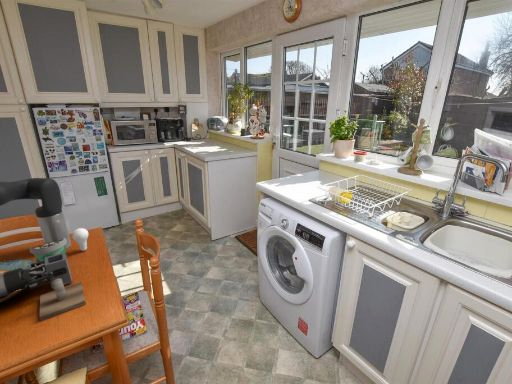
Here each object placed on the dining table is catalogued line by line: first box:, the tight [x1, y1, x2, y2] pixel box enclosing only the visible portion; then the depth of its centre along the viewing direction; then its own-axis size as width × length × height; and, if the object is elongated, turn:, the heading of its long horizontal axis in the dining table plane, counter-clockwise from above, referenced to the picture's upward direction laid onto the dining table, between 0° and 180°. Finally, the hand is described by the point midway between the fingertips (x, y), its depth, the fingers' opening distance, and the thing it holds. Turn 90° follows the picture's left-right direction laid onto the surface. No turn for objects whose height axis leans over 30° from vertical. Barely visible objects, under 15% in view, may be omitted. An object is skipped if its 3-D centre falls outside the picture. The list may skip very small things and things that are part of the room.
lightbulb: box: [71, 227, 89, 252], centre depth 118 cm, size 6×6×11 cm
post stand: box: [39, 278, 87, 322], centre depth 89 cm, size 12×12×8 cm
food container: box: [29, 238, 68, 264], centre depth 108 cm, size 12×6×10 cm, turn 131°
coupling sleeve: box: [45, 252, 73, 290], centre depth 97 cm, size 6×6×10 cm
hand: (65, 265), depth 98 cm, fingers closed on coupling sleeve, 6 cm apart
